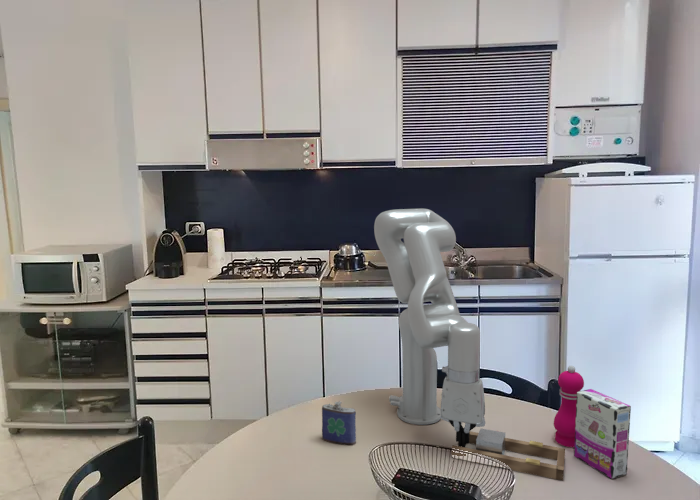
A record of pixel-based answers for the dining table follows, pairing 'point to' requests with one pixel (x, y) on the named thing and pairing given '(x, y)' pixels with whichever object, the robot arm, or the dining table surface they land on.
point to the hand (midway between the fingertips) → (462, 444)
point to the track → (526, 464)
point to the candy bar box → (602, 432)
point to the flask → (338, 424)
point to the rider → (491, 441)
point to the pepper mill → (567, 407)
